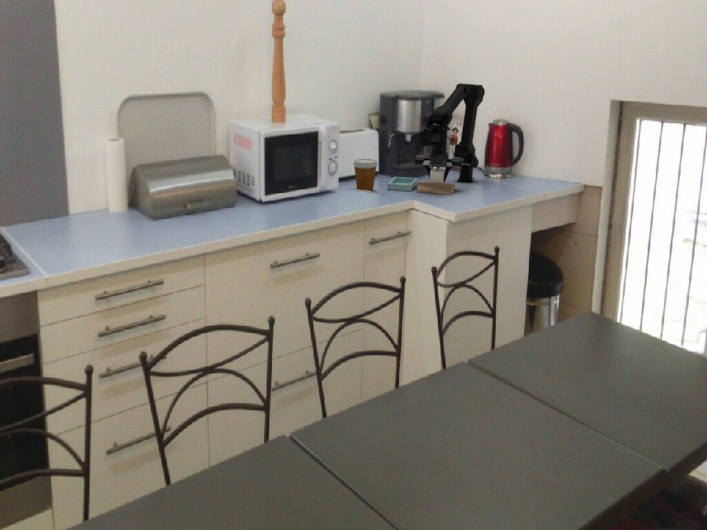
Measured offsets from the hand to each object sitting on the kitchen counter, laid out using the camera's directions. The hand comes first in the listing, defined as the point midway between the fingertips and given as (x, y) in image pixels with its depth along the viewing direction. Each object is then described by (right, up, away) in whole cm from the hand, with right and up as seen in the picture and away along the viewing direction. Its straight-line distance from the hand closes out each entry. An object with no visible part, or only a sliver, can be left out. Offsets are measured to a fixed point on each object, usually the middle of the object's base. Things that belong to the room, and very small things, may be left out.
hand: (437, 181), depth 303 cm
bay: (0, -3, 0) cm, 3 cm away
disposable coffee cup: (-29, -4, -3) cm, 30 cm away
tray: (-14, -2, +4) cm, 14 cm away
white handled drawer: (0, -3, +1) cm, 3 cm away
